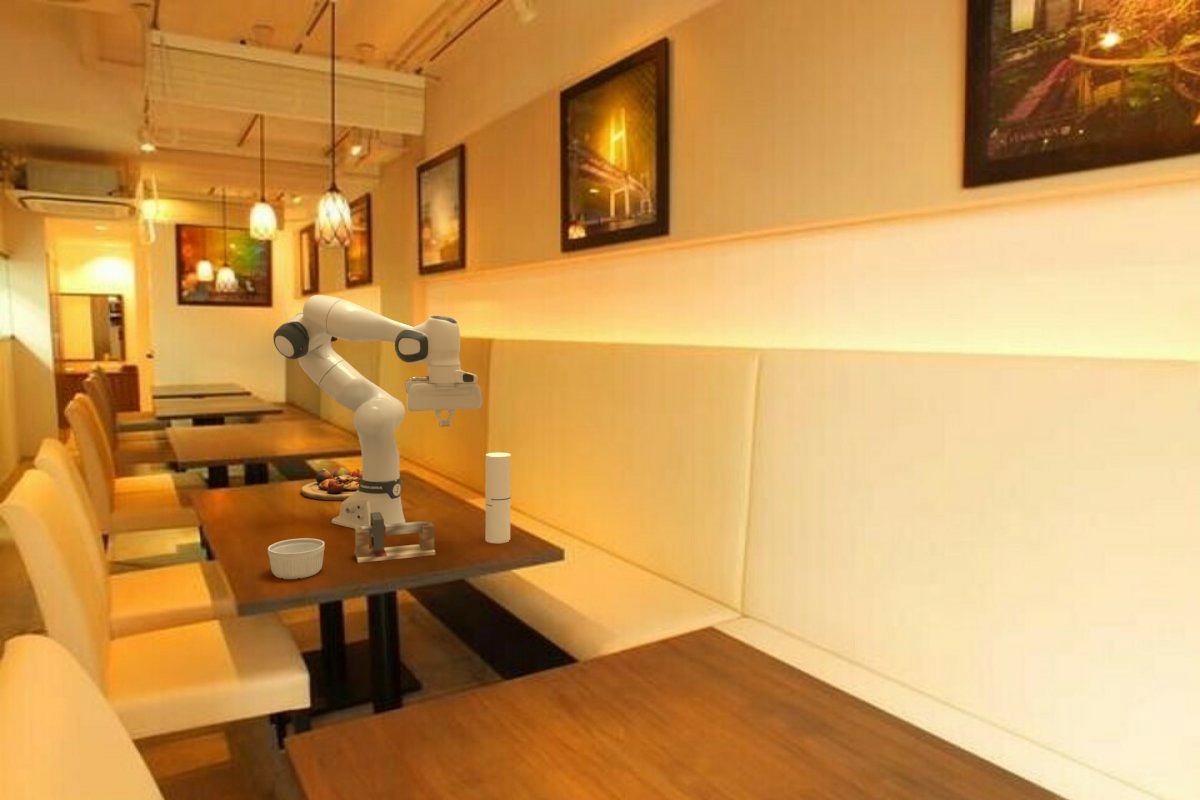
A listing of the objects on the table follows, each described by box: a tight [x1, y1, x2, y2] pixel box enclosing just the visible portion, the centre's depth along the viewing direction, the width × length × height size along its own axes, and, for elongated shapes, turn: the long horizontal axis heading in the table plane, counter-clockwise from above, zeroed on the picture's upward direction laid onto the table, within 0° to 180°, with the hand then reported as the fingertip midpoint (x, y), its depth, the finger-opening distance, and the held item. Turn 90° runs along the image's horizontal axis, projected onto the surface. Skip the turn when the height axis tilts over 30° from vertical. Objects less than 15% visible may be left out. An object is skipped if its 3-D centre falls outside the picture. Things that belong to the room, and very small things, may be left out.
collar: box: [370, 512, 385, 550], centre depth 203 cm, size 2×8×8 cm, turn 23°
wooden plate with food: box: [300, 466, 362, 501], centre depth 279 cm, size 32×32×8 cm
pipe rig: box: [354, 520, 436, 564], centre depth 205 cm, size 20×8×8 cm, turn 113°
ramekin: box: [267, 537, 326, 580], centre depth 190 cm, size 13×13×7 cm
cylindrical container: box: [484, 452, 512, 544], centre depth 220 cm, size 7×7×25 cm
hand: (445, 426), depth 209 cm, fingers closed
